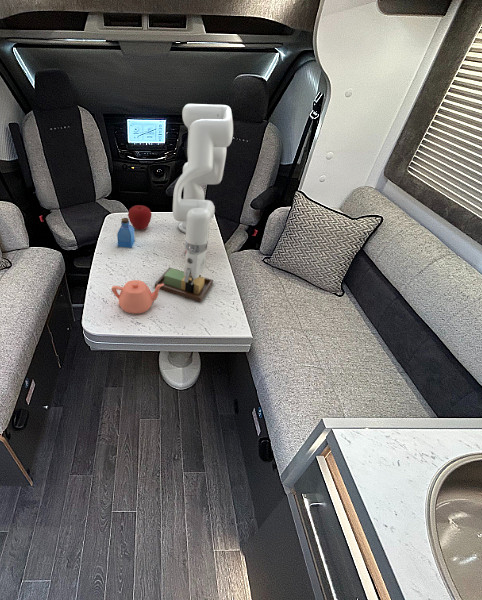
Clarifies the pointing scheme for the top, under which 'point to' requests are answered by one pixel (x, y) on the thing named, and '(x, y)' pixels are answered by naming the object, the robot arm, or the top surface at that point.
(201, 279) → the yellow rectangular block
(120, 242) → the perfume bottle
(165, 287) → the brown tray
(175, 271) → the green block
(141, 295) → the teapot
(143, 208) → the apple
